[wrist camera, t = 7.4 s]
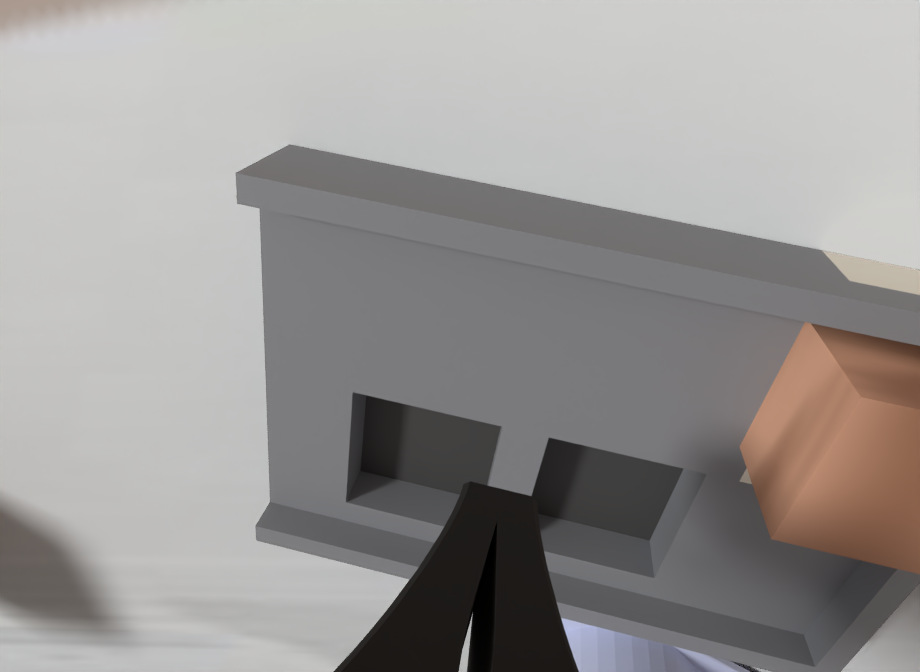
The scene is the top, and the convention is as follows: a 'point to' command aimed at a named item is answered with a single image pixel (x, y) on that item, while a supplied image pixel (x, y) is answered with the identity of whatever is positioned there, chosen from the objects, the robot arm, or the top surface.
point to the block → (842, 448)
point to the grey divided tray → (554, 396)
